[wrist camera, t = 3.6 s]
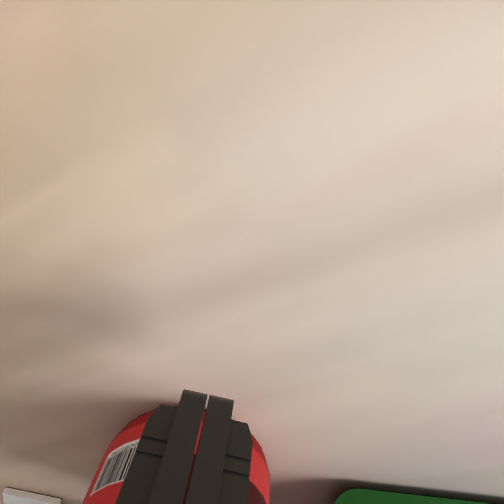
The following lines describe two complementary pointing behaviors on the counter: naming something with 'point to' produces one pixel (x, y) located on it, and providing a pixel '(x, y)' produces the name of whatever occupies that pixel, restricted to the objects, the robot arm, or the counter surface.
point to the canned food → (123, 449)
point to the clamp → (392, 498)
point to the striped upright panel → (27, 497)
